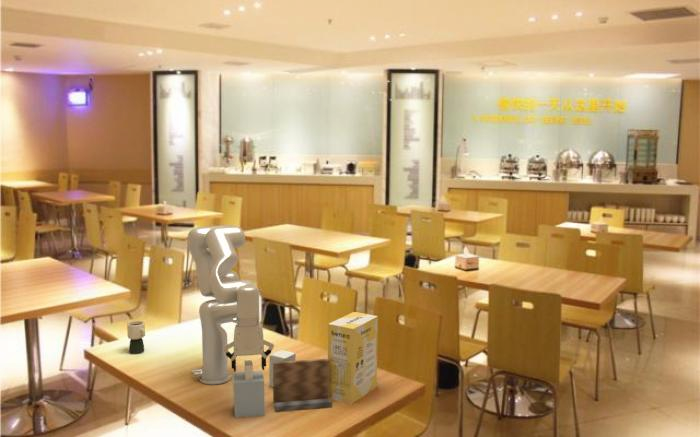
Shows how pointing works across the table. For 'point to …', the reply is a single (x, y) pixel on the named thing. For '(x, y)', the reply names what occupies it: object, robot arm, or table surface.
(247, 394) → the slate cabinet
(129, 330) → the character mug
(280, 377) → the walnut wall board
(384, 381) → the table surface
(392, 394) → the table surface
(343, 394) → the pasta box
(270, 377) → the supplement box
